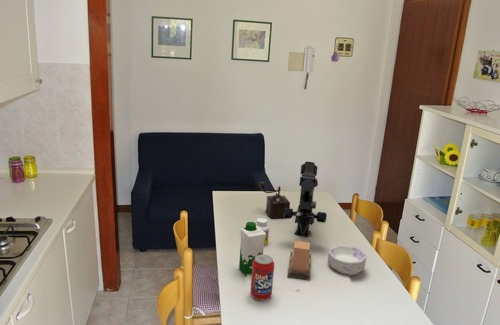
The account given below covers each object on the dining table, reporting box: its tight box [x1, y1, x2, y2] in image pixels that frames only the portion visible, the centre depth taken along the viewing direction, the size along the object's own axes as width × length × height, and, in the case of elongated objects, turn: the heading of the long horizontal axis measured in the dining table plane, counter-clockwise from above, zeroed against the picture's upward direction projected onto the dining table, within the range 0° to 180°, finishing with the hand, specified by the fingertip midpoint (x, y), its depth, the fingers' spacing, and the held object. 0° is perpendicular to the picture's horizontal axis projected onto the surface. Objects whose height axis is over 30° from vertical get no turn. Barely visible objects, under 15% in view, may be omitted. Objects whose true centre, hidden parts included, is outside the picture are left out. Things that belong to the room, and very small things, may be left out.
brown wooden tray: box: [286, 251, 312, 282], centre depth 169 cm, size 18×9×4 cm, turn 171°
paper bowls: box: [327, 244, 367, 277], centre depth 171 cm, size 15×15×8 cm
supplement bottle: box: [256, 217, 270, 247], centre depth 186 cm, size 7×7×13 cm
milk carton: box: [238, 221, 266, 277], centre depth 164 cm, size 9×9×20 cm
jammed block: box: [291, 240, 311, 274], centre depth 164 cm, size 6×6×12 cm
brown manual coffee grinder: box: [258, 181, 291, 220], centre depth 220 cm, size 16×11×18 cm
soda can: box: [250, 254, 275, 301], centre depth 149 cm, size 8×8×15 cm
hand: (302, 233), depth 178 cm, fingers closed
